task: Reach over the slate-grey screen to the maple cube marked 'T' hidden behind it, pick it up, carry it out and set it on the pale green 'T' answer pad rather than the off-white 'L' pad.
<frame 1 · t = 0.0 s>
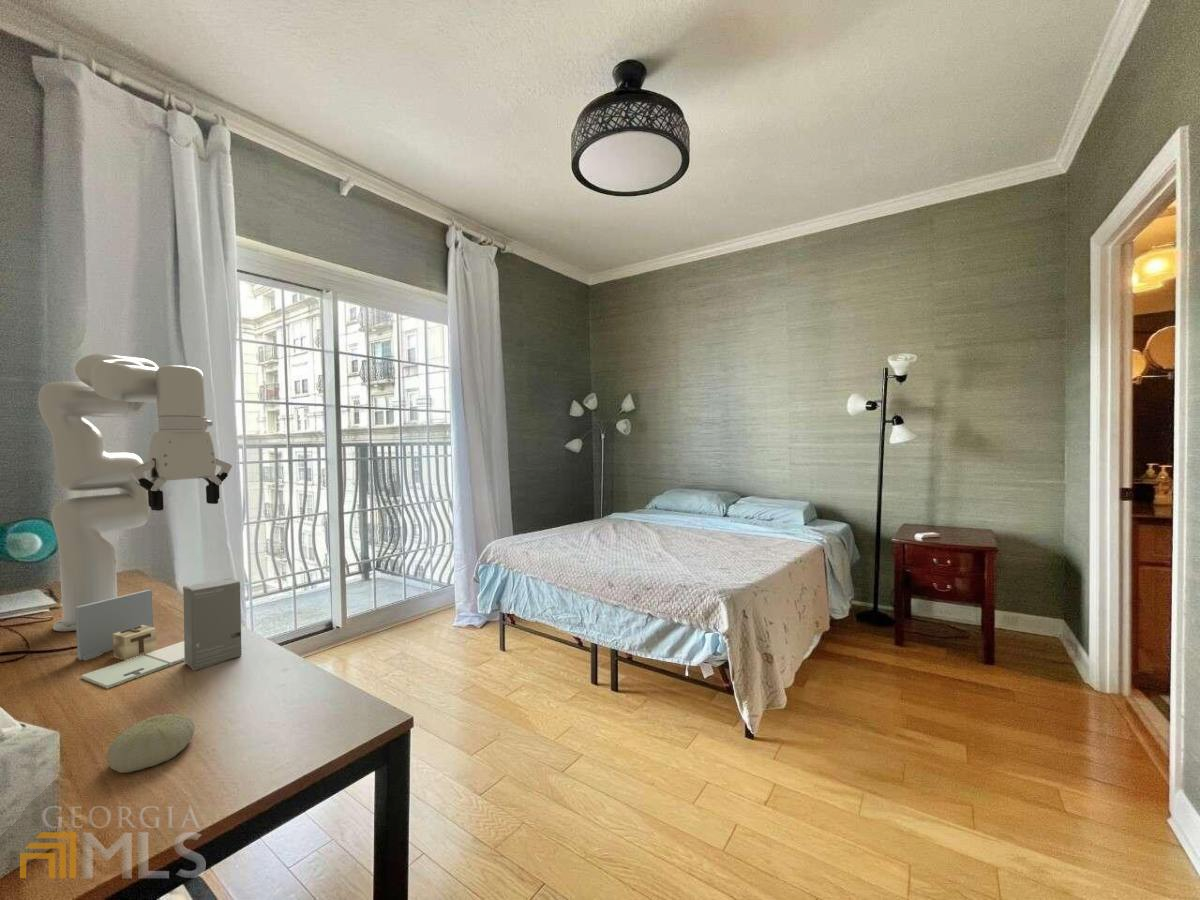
hand: (186, 506, 100), 31 cm above the table, tool pointing down, fingers open, 9 cm apart
skincare box: (214, 660, 98), on the table
pad T: (126, 672, 93), on the table
screen: (117, 647, 104), on the table
sea urchin shell: (152, 757, 68), on the table
letter cube: (135, 654, 101), on the table
pad L: (184, 651, 101), on the table
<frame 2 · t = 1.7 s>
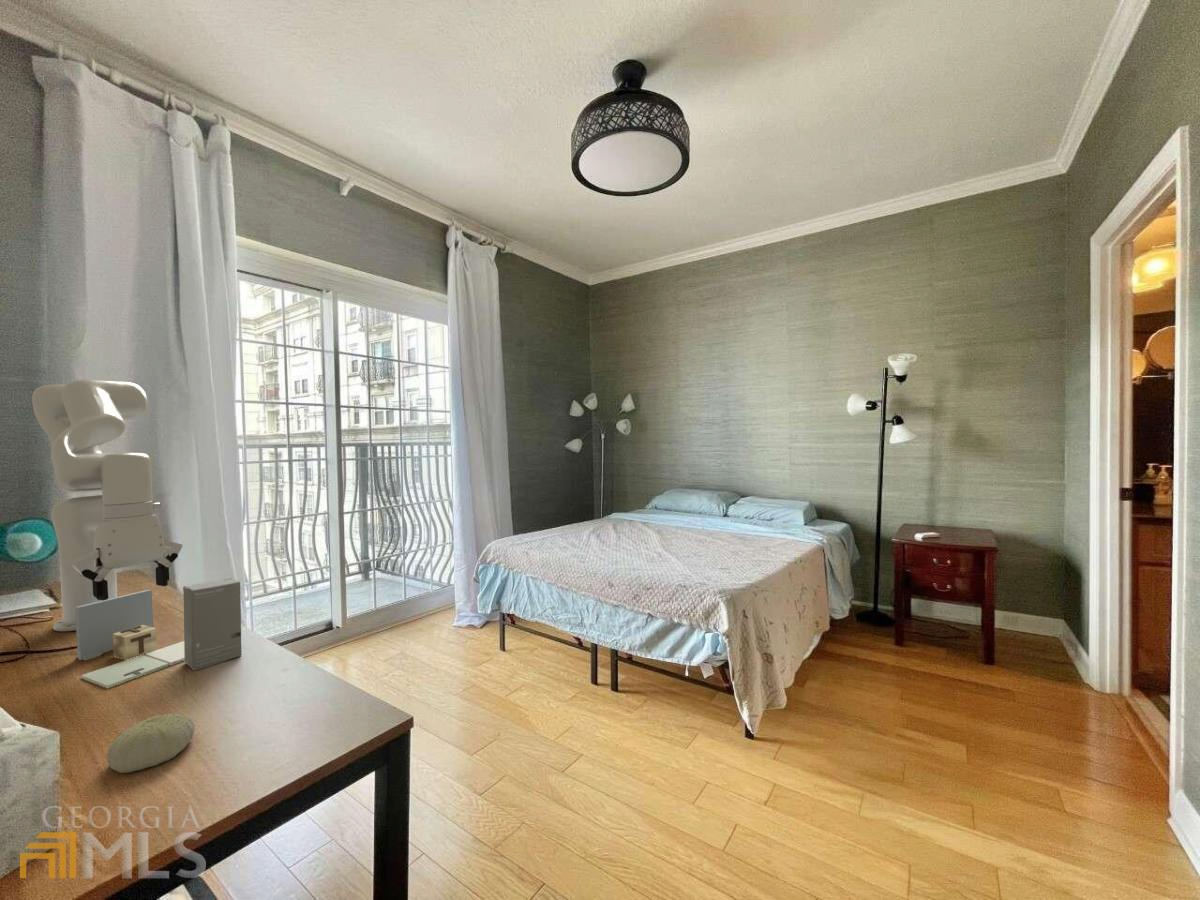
hand: (133, 592, 100), 13 cm above the table, tool pointing down, fingers open, 9 cm apart
nothing on the table moved.
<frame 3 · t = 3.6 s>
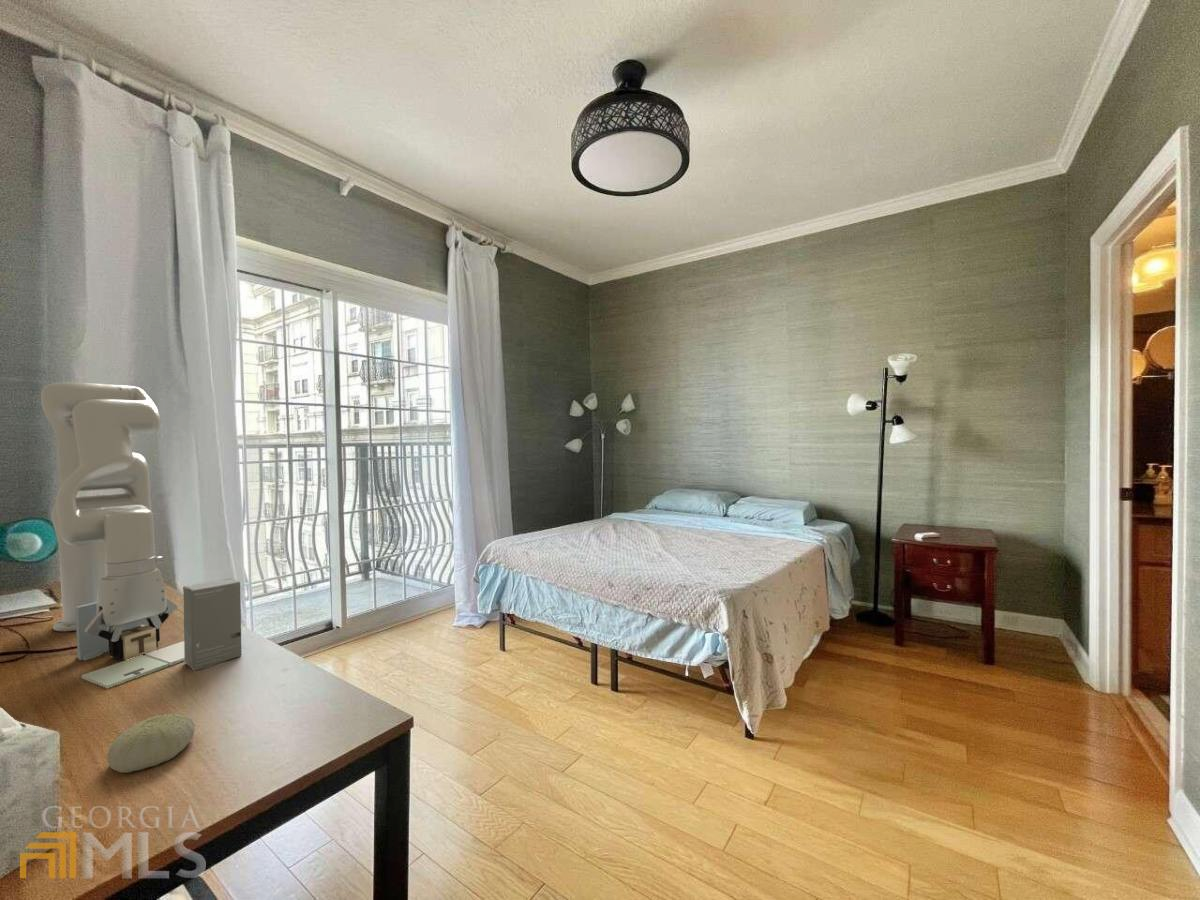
hand: (135, 651, 101), 0 cm above the table, tool pointing down, fingers closed on letter cube, 5 cm apart
letter cube: (135, 653, 101), on the table, touching gripper
everything else where it was.
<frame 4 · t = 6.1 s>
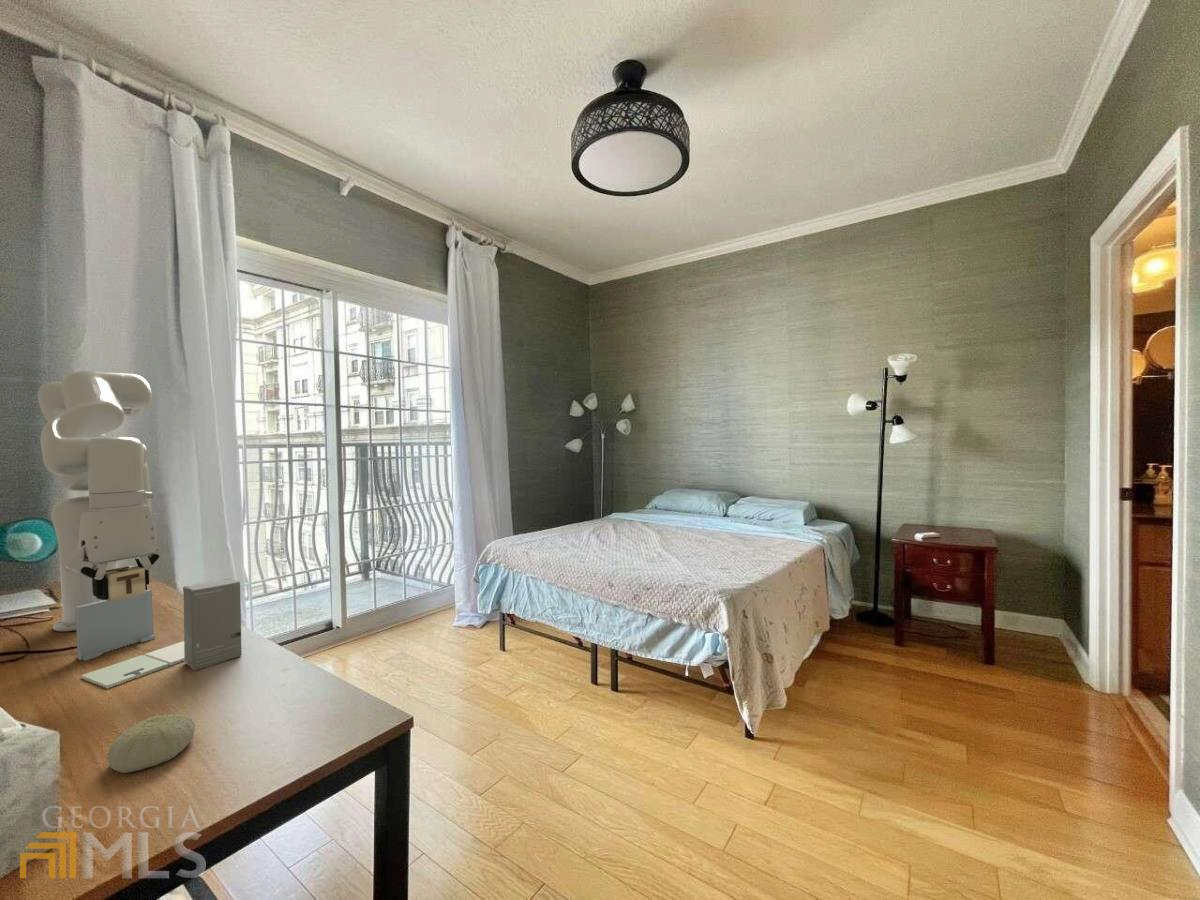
hand: (122, 593, 92), 16 cm above the table, tool pointing down, fingers closed on letter cube, 5 cm apart
letter cube: (122, 595, 92), point 15 cm above the table, touching gripper
everything else where it was.
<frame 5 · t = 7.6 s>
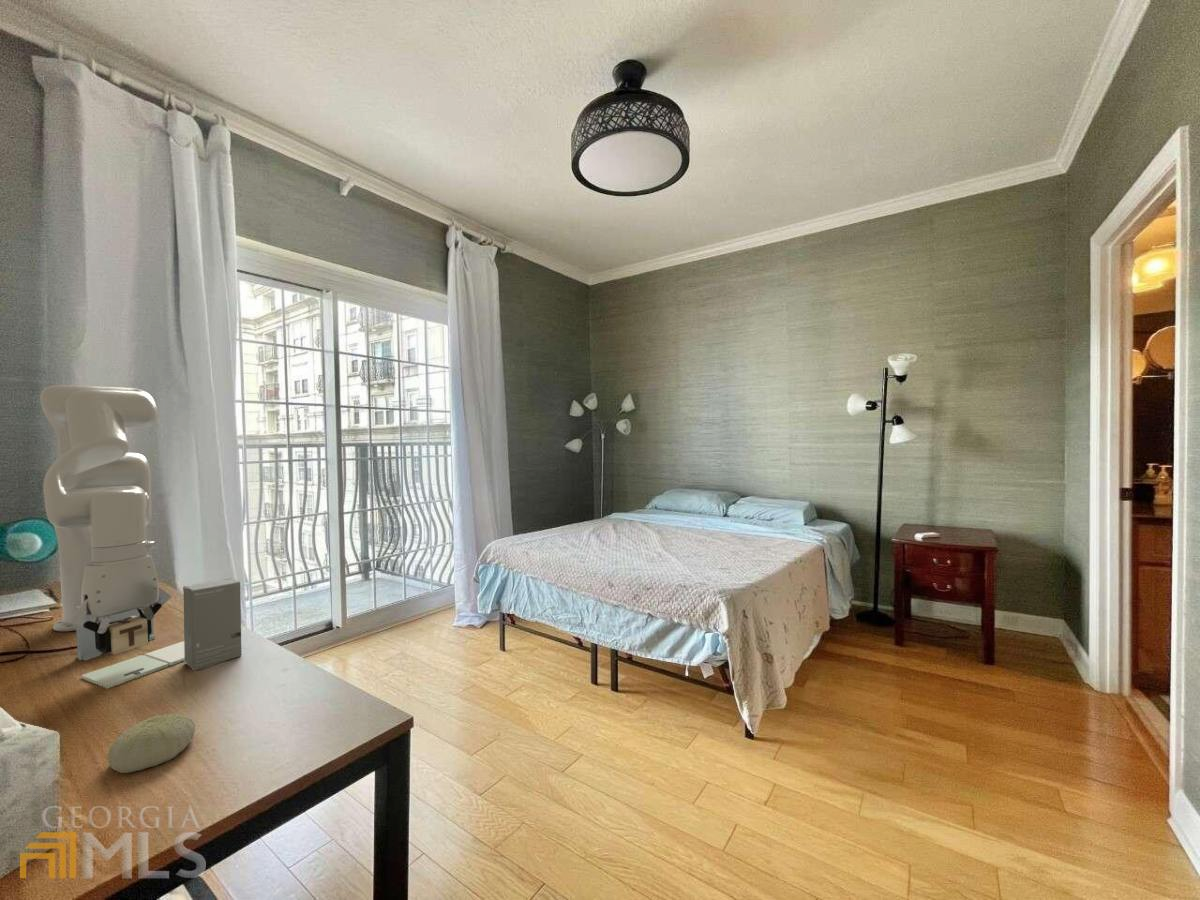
hand: (124, 644, 92), 6 cm above the table, tool pointing down, fingers closed on letter cube, 5 cm apart
letter cube: (125, 647, 92), point 5 cm above the table, touching gripper
everything else where it was.
when the fingers open (2 cm above the table, at t = 8.8 s): letter cube drops 1 cm, resting on pad T.
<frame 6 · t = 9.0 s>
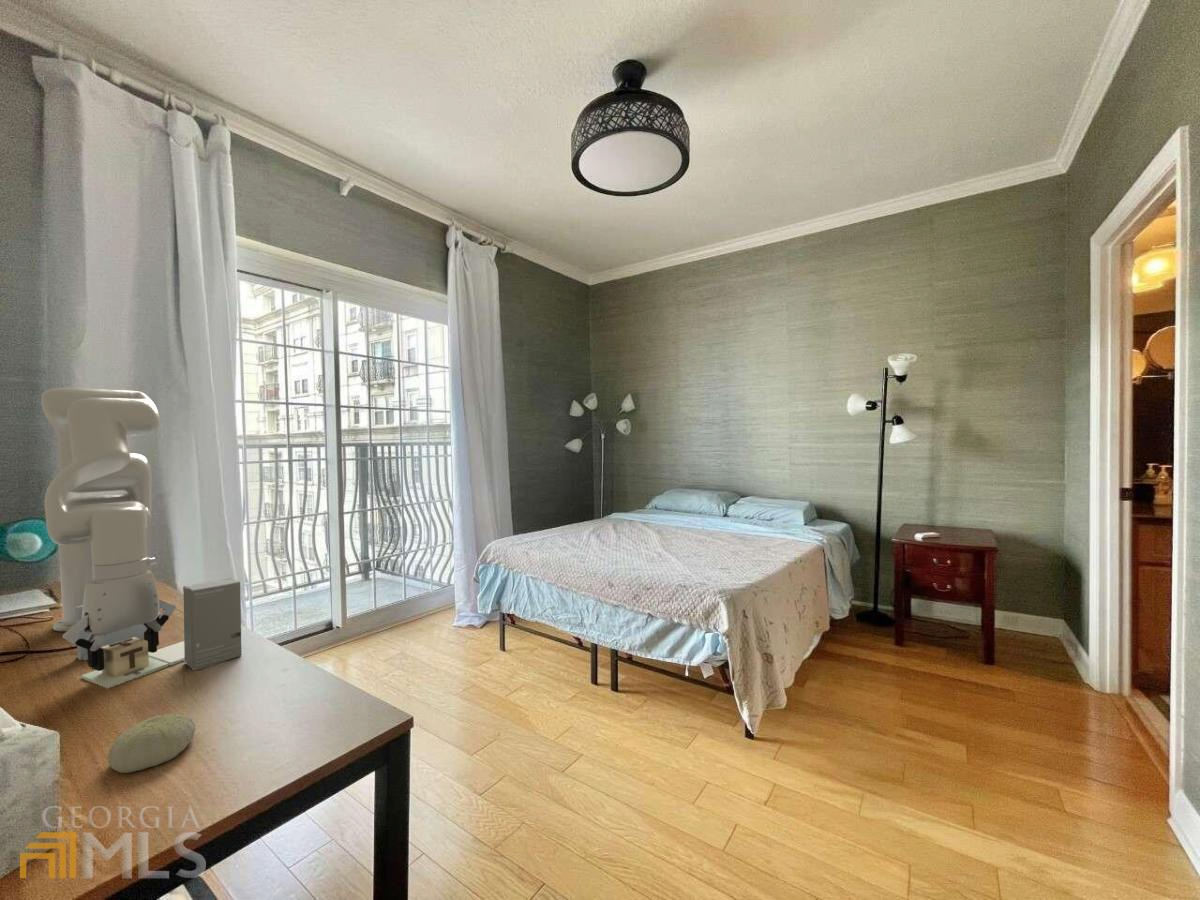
hand: (125, 659, 93), 3 cm above the table, tool pointing down, fingers open, 7 cm apart
letter cube: (125, 669, 93), point 1 cm above the table, touching pad T
everything else where it was.
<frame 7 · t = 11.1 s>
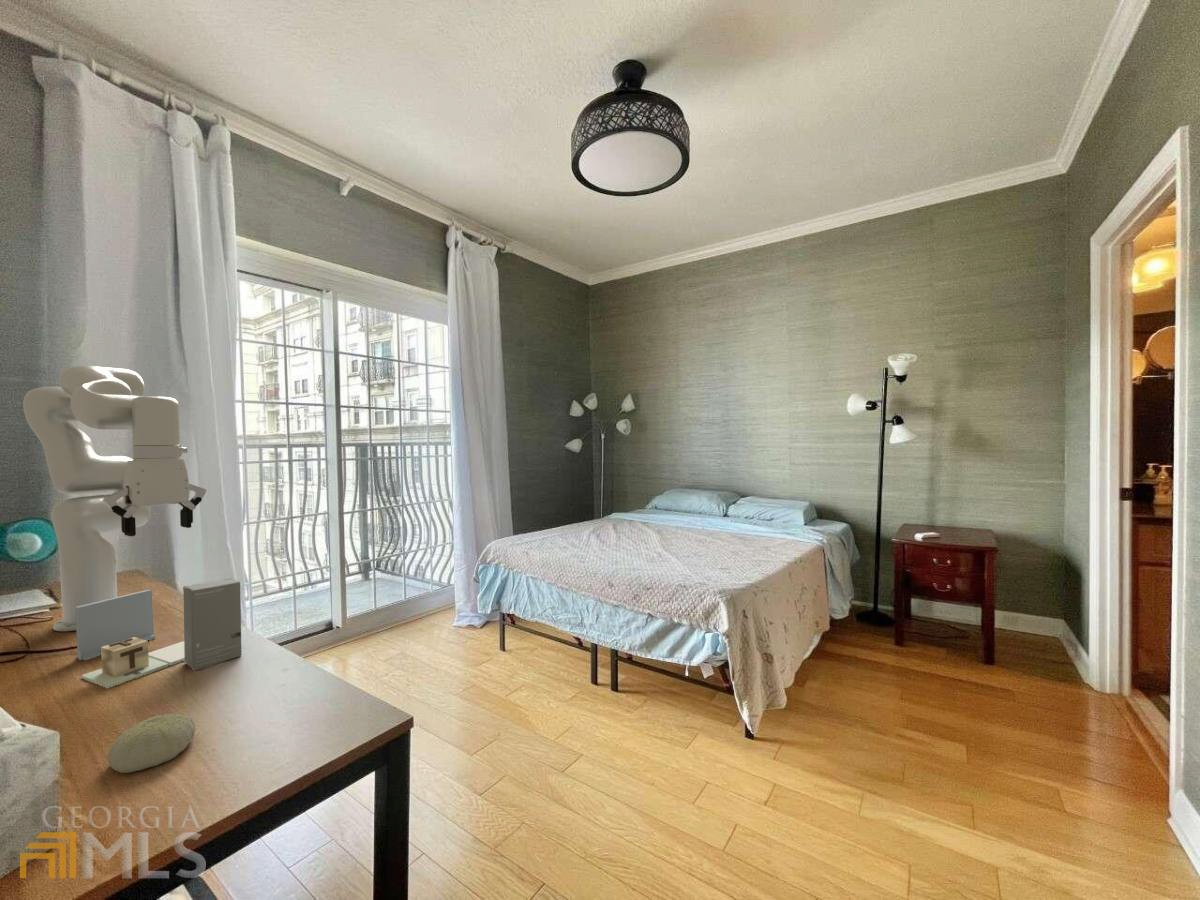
hand: (159, 531, 104), 25 cm above the table, tool pointing down, fingers open, 9 cm apart
nothing on the table moved.
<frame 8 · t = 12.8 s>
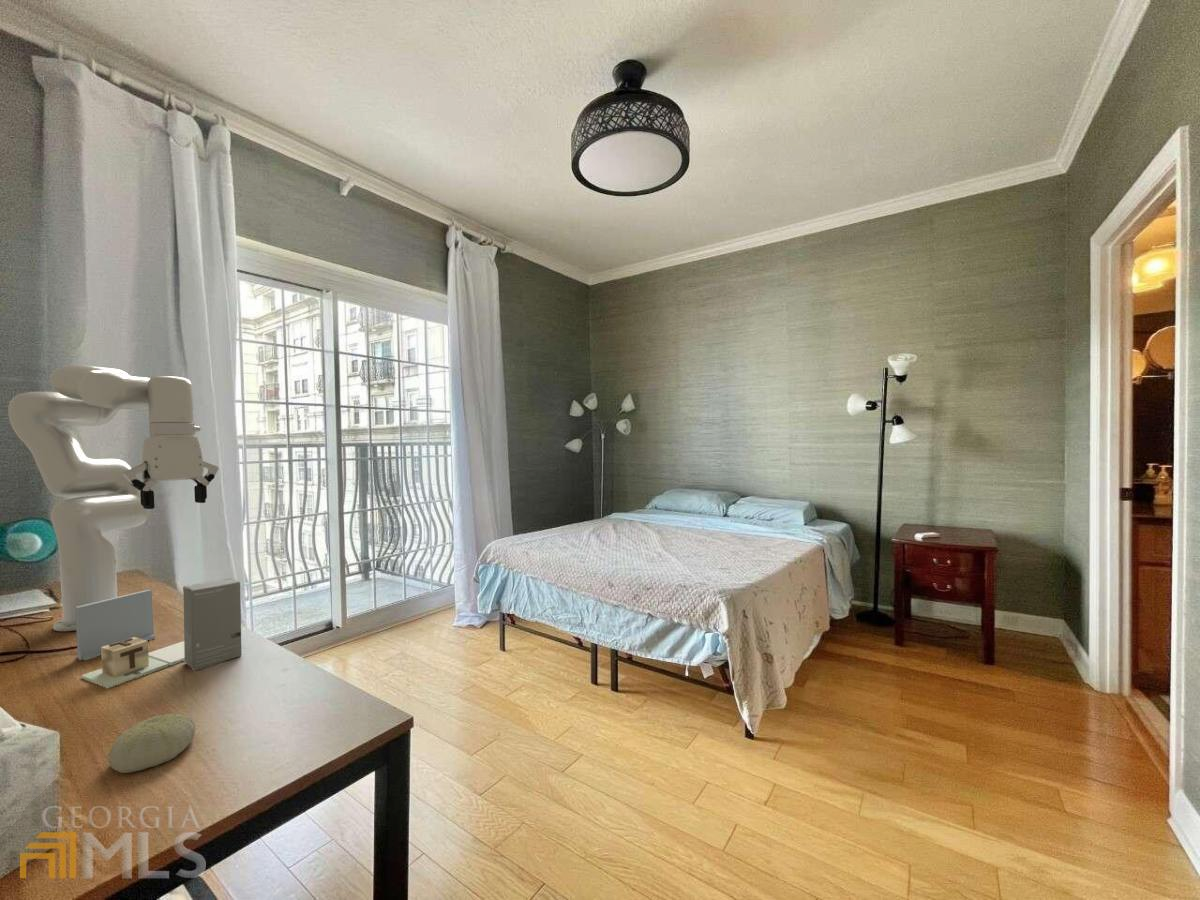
hand: (175, 505, 109), 30 cm above the table, tool pointing down, fingers open, 9 cm apart
nothing on the table moved.
at the end: letter cube inside the target area on the pad T (0.0 cm from its centre), point 0.6 cm above the pad T's base; letter cube tilted 0°; the gripper is holding nothing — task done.
